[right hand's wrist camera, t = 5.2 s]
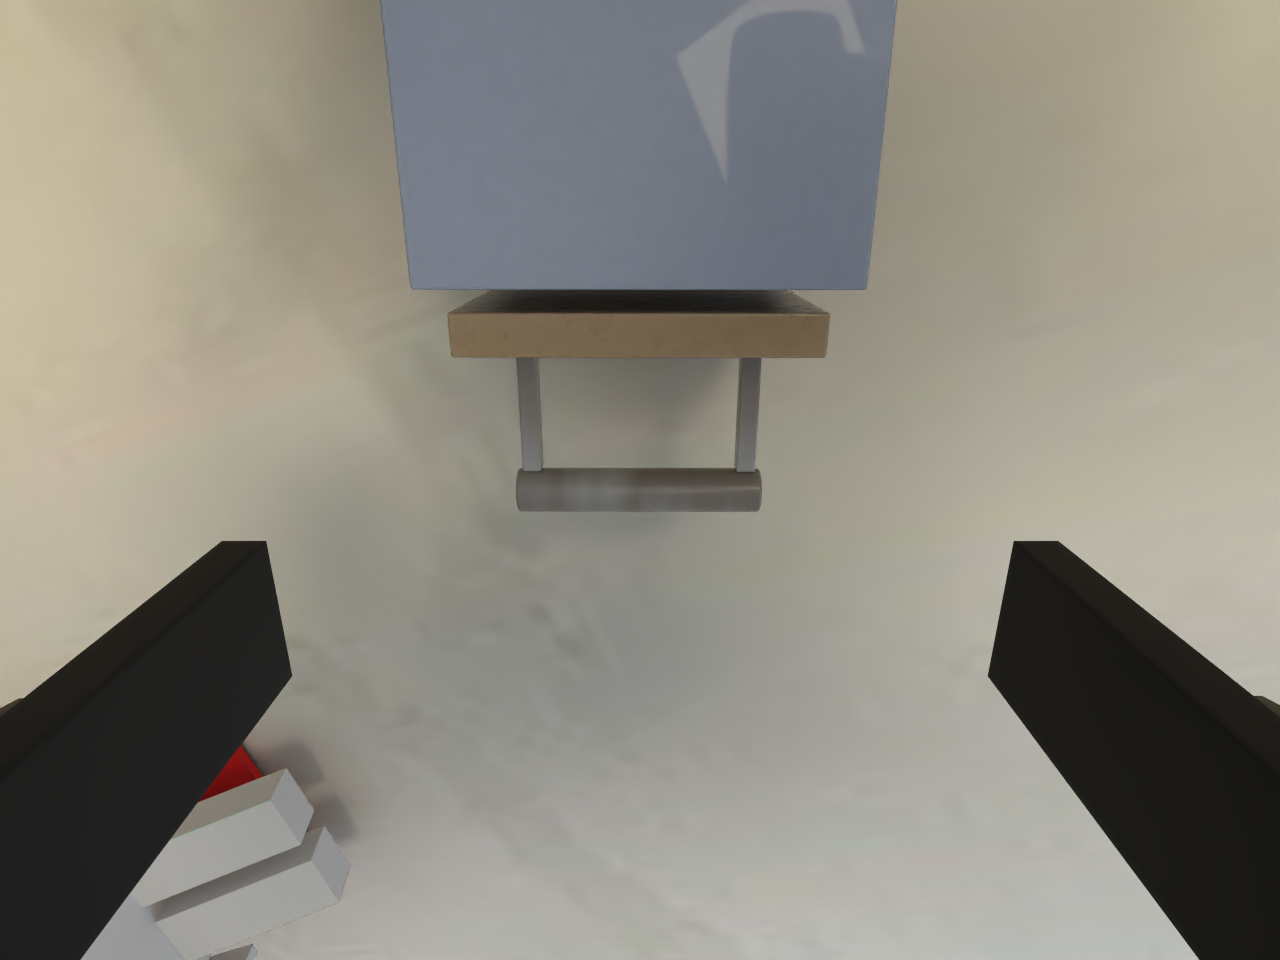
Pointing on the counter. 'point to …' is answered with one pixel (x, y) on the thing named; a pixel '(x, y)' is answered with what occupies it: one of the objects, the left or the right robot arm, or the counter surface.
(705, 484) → the drawer
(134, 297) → the counter surface
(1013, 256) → the counter surface
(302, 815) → the toy
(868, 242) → the cabinet
